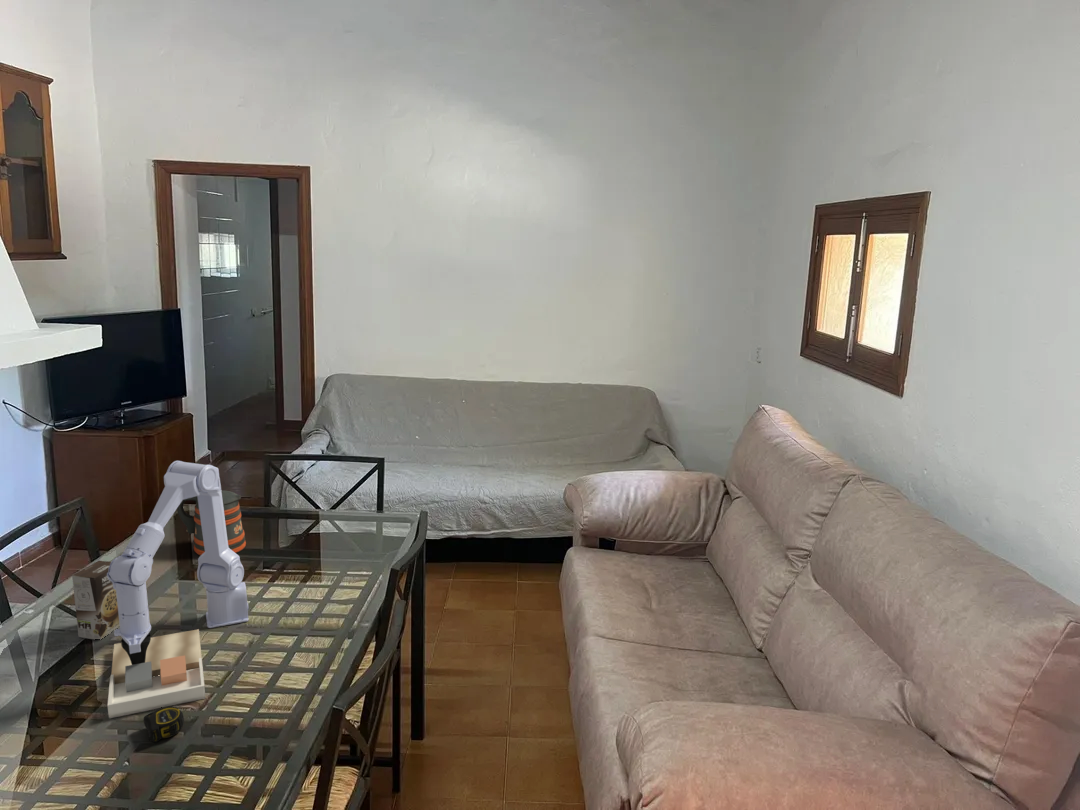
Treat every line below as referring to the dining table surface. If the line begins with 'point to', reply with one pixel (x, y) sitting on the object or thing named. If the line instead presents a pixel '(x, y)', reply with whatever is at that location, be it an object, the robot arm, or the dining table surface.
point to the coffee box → (95, 601)
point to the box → (155, 694)
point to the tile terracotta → (173, 670)
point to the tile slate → (138, 676)
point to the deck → (161, 653)
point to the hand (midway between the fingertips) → (139, 666)
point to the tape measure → (164, 723)
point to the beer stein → (231, 520)
